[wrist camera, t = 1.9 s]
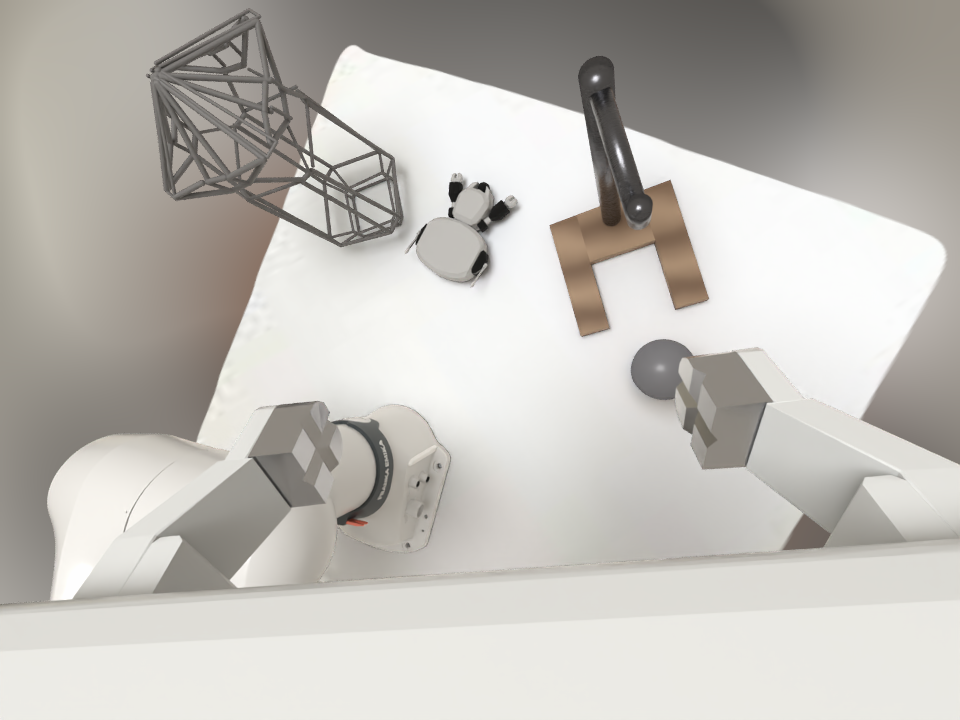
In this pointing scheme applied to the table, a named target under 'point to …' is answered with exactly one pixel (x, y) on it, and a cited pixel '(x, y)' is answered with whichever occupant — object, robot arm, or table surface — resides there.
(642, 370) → the cord spool
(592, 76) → the hook stand
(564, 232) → the notched board
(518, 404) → the table surface
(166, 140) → the geometric lantern
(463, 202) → the robot toy
